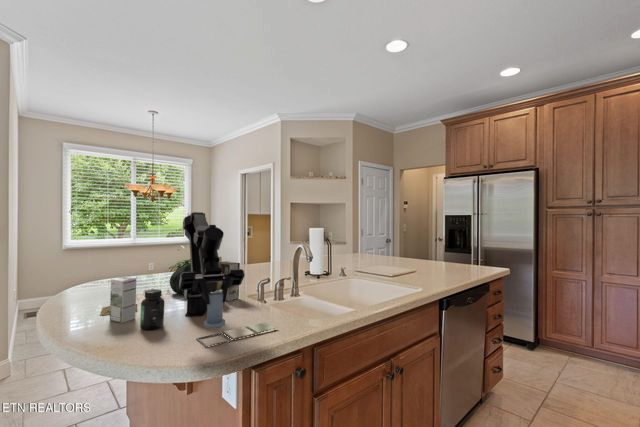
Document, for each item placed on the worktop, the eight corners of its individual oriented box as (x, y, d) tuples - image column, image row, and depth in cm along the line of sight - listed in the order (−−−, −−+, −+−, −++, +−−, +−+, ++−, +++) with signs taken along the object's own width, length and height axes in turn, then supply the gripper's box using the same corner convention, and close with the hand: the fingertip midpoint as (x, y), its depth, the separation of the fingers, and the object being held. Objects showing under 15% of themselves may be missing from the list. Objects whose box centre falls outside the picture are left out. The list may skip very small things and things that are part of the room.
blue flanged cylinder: (201, 328, 92) (202, 297, 92) (206, 321, 98) (207, 292, 98) (222, 328, 93) (223, 297, 93) (226, 321, 99) (227, 292, 99)
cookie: (101, 308, 125) (101, 306, 125) (137, 305, 131) (137, 302, 131) (98, 317, 115) (98, 314, 115) (137, 313, 121) (137, 310, 121)
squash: (184, 277, 162) (174, 257, 153) (212, 280, 160) (204, 260, 151) (170, 301, 152) (159, 281, 142) (200, 304, 150) (190, 285, 140)
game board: (205, 347, 90) (206, 345, 90) (195, 339, 96) (196, 336, 96) (278, 330, 106) (278, 327, 106) (265, 323, 112) (265, 321, 112)
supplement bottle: (138, 332, 101) (140, 293, 101) (141, 325, 107) (142, 289, 107) (163, 329, 103) (164, 292, 103) (164, 323, 110) (165, 288, 110)
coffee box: (239, 298, 145) (240, 262, 145) (228, 301, 139) (229, 264, 140) (225, 295, 150) (226, 260, 150) (214, 298, 144) (215, 262, 144)
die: (206, 308, 128) (207, 293, 128) (210, 304, 134) (210, 289, 134) (221, 308, 129) (222, 293, 129) (224, 304, 135) (225, 289, 135)
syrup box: (136, 318, 114) (137, 277, 114) (120, 323, 108) (122, 280, 108) (124, 316, 115) (125, 276, 116) (108, 321, 110) (110, 278, 110)
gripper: (232, 273, 114) (241, 313, 104) (175, 276, 104) (178, 321, 95) (240, 253, 107) (249, 294, 97) (179, 255, 98) (183, 300, 88)
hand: (216, 302), depth 95 cm, fingers closed on blue flanged cylinder, 4 cm apart
